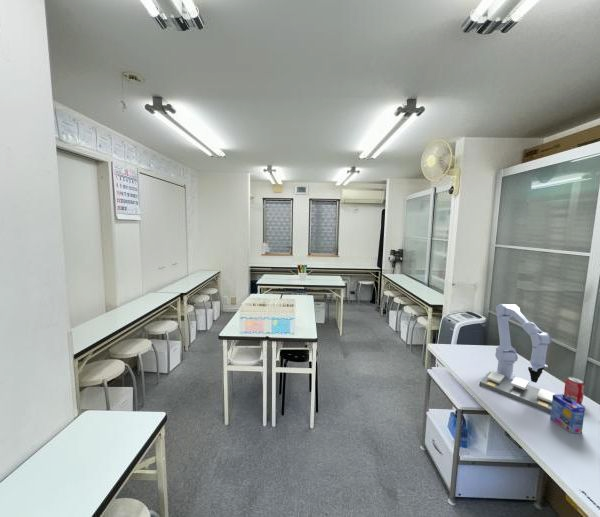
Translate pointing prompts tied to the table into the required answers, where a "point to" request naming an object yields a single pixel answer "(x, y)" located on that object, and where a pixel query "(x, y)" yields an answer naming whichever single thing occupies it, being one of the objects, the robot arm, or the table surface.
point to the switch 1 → (496, 377)
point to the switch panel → (517, 392)
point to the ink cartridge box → (567, 413)
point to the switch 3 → (545, 395)
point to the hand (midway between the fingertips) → (535, 379)
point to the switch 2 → (520, 383)
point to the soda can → (574, 389)
